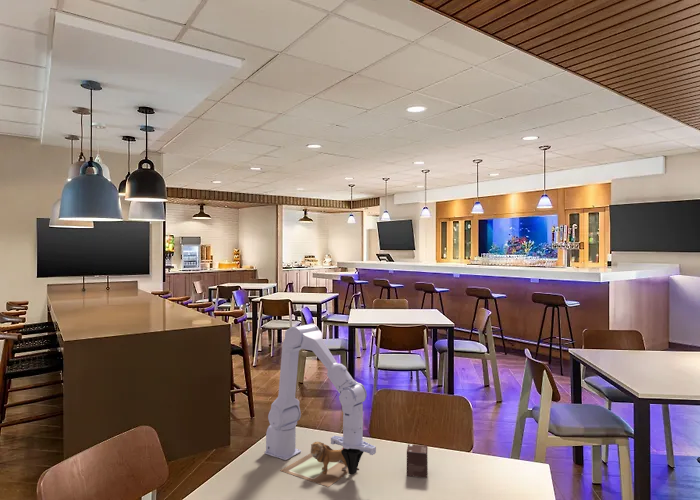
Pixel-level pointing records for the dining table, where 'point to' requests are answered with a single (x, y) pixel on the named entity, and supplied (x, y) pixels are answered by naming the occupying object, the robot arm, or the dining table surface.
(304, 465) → the picture sheet
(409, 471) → the box
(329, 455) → the lion figurine
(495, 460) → the dining table surface
